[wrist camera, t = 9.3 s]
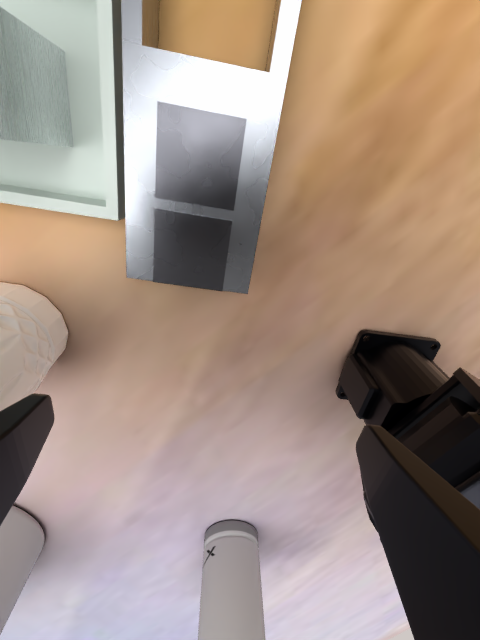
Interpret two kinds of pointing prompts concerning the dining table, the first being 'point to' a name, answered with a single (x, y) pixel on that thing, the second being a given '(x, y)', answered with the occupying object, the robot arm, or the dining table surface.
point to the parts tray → (75, 115)
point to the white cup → (27, 341)
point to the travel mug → (231, 584)
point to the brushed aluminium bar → (32, 86)
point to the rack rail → (197, 153)
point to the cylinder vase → (17, 557)
